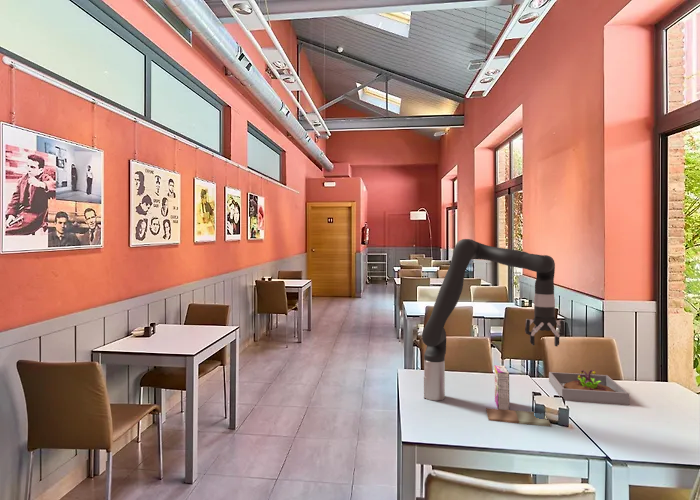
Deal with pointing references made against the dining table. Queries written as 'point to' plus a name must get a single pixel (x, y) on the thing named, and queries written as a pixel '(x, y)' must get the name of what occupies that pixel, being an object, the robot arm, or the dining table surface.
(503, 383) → the candy bar box
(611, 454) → the dining table surface
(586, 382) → the plant
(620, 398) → the planter frame
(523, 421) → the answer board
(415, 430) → the dining table surface
